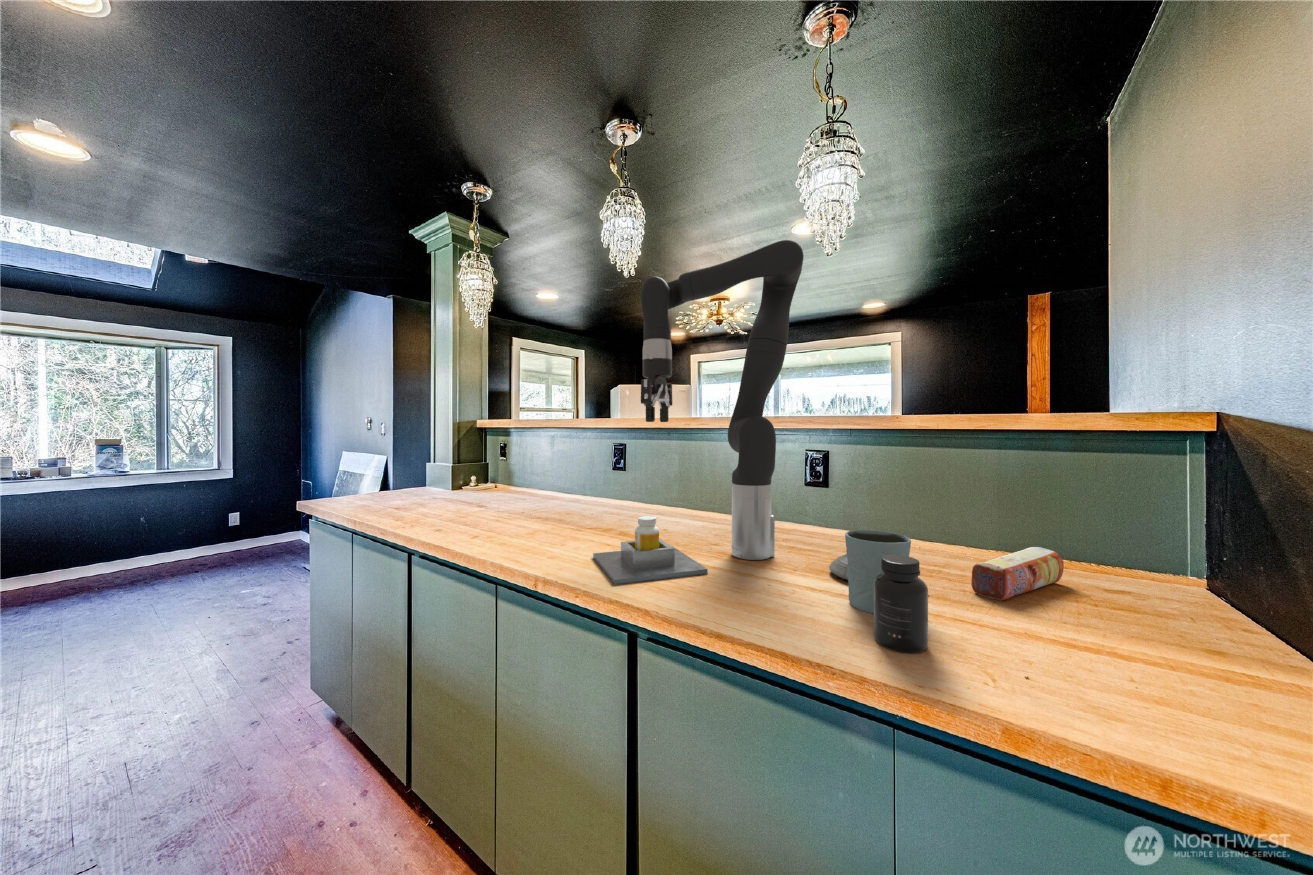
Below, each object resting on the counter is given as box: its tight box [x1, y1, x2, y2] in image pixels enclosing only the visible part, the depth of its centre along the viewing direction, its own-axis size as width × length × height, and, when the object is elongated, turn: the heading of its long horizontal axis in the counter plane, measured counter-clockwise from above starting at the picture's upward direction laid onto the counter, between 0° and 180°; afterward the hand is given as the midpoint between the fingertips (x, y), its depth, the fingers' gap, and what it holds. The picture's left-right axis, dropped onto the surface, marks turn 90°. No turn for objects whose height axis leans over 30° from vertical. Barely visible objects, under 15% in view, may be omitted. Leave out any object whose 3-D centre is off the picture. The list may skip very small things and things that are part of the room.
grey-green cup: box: [844, 529, 912, 615], centre depth 79 cm, size 10×10×12 cm
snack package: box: [971, 546, 1065, 601], centre depth 87 cm, size 21×7×7 cm, turn 118°
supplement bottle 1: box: [634, 515, 660, 550], centre depth 101 cm, size 5×5×10 cm
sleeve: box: [592, 538, 709, 586], centre depth 101 cm, size 20×20×4 cm
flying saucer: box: [828, 553, 849, 581], centre depth 93 cm, size 15×15×6 cm
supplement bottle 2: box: [873, 555, 929, 654], centre depth 65 cm, size 7×7×12 cm
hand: (657, 421), depth 118 cm, fingers open, 8 cm apart
